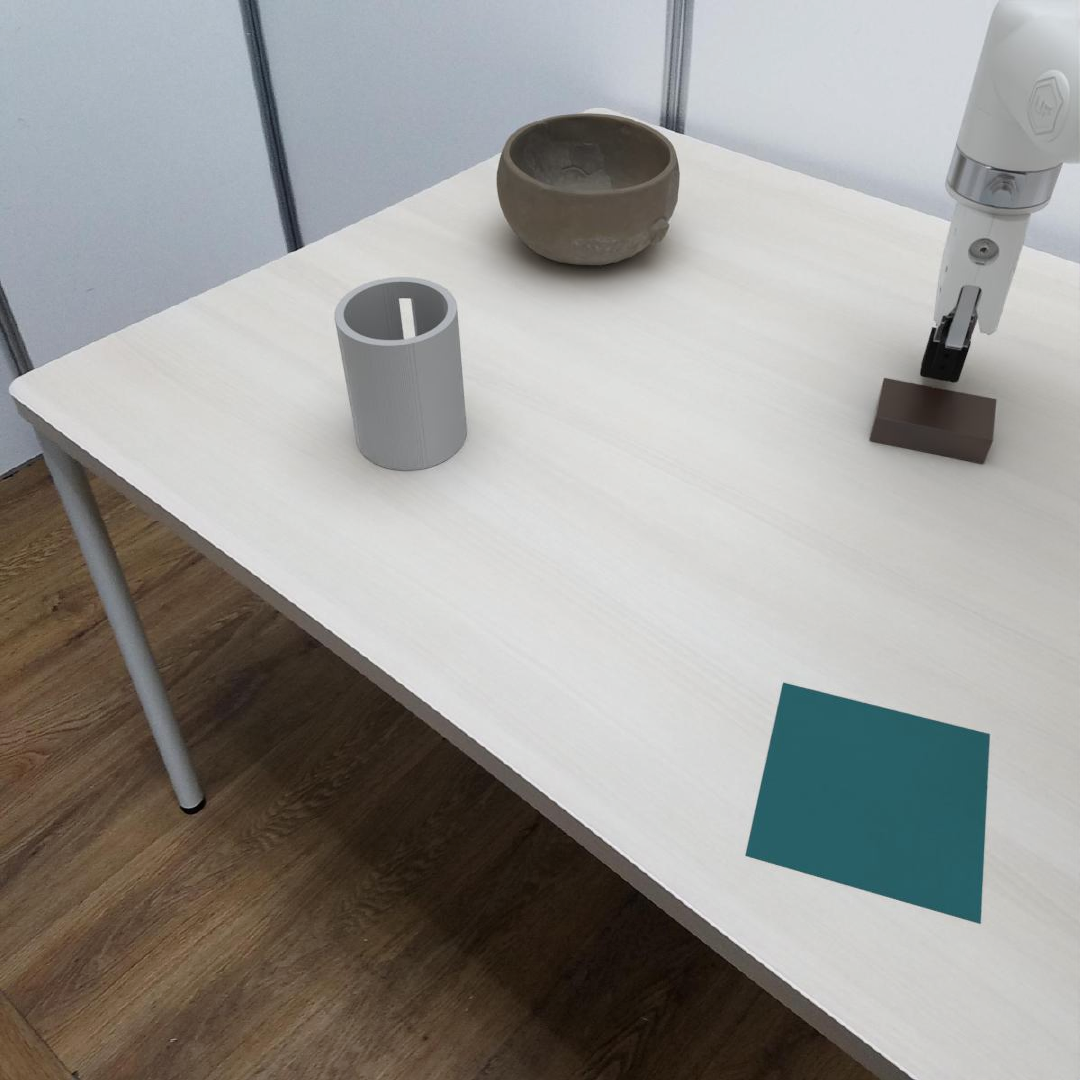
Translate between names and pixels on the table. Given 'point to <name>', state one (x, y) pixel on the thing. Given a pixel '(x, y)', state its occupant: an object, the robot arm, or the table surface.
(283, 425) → the table surface
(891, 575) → the table surface
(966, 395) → the walnut block
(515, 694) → the table surface
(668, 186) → the bowl
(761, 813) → the mat
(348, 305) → the cup
